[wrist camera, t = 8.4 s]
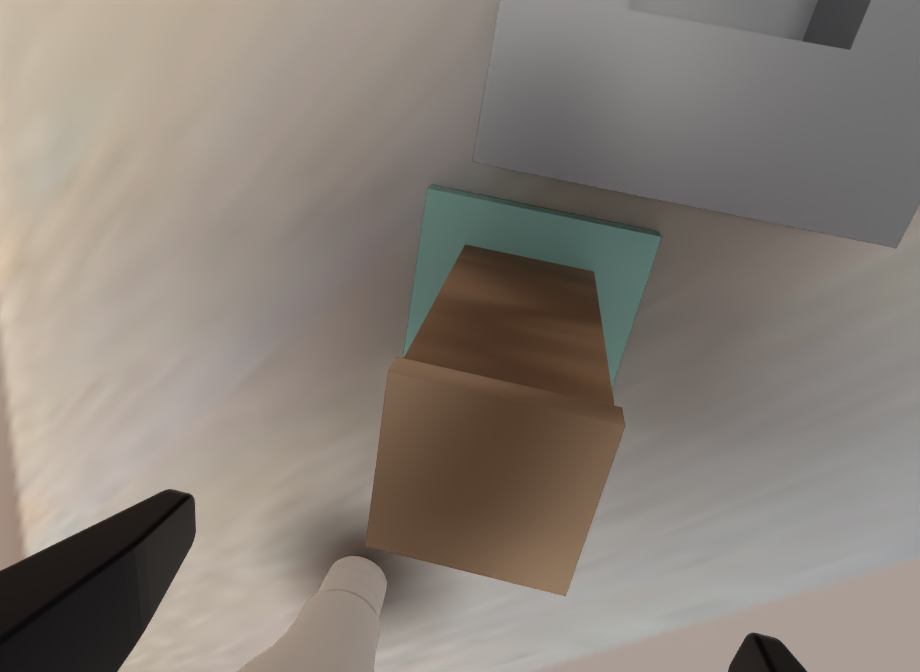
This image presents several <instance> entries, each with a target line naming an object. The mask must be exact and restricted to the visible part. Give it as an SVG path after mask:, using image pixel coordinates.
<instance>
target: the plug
mask: <svg viewBox="0 0 920 672" xmlns="http://www.w3.org/2000/svg"><path fill="white" fill-rule="evenodd" d="M624 428H625V422H624V416H623V410H622V408H621V407H617V406H614V401H613V394H612V387H611V381H610V374H609V367H608V361H607V354H606V347H605V341H604V334H603V327H602V321H601V314H600V307H599V301H598V294H597V287H596V281H595V274H594V271H590V270H585V269H580V268H575V267H571V266H566V265H561V264H556V263H552V262H547V261H542V260H537V259H532V258H528V257H523V256H518V255H513V254H509V253H504V252H499V251H494V250H490V249H485V248H480V247H475V246H471V245H466V244H465V245H464V247H463V249H462V251H461V253H460V255H459V257H458V258H457V260H456V262H455V264H454V266H453V268H452V270H451V271H450V273H449V275H448V277H447V279H446V281H445V282H444V284H443V286H442V288H441V290H440V292H439V294H438V295H437V297H436V299H435V301H434V303H433V305H432V307H431V308H430V310H429V312H428V314H427V316H426V318H425V320H424V321H423V323H422V325H421V327H420V329H419V331H418V332H417V334H416V336H415V338H414V340H413V342H412V344H411V345H410V347H409V349H408V351H407V353H406V355H405V357H404V358H399V357H396V359H395V361H394V362H393V364H392V366H391V368H390V369H389V371H388V376H387V384H386V391H385V399H384V407H383V415H382V422H381V430H380V438H379V445H378V453H377V461H376V469H375V476H374V484H373V492H372V499H371V507H370V515H369V523H368V530H367V538H366V547H370V548H374V549H378V550H382V551H386V552H390V553H394V554H398V555H402V556H406V557H410V558H414V559H418V560H422V561H426V562H430V563H434V564H438V565H442V566H446V567H450V568H454V569H458V570H462V571H466V572H470V573H475V574H479V575H483V576H487V577H491V578H495V579H499V580H503V581H507V582H511V583H515V584H519V585H523V586H527V587H531V588H535V589H539V590H543V591H547V592H551V593H555V594H559V595H563V596H566V594H567V591H568V588H569V585H570V583H571V580H572V577H573V574H574V571H575V568H576V565H577V563H578V560H579V557H580V554H581V551H582V548H583V545H584V543H585V540H586V537H587V534H588V531H589V528H590V525H591V523H592V520H593V517H594V514H595V511H596V508H597V505H598V503H599V500H600V497H601V494H602V491H603V488H604V485H605V483H606V480H607V477H608V474H609V471H610V468H611V465H612V463H613V460H614V457H615V454H616V451H617V448H618V445H619V442H620V440H621V437H622V434H623V431H624Z"/></svg>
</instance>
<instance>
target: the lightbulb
mask: <svg viewBox="0 0 920 672" xmlns="http://www.w3.org/2000/svg"><path fill="white" fill-rule="evenodd" d="M386 589H387V580H386V577H385V575H384V573H383V571H382V570H381V568H380V567H379V566H378V565H377V564H375V563H374V562H372V561H371V560H369V559H366V558H364V557H359V556H348V557H344V558H341V559H339V560H337V561H336V562H335V563H333V565H332V566H331V568H330V570H329V572H328V573H327V575H326V576H325V578H324V581H323V582H322V584H321V585H320V588H319V590H318V592H317V594H315V595H314V596H312V597H311V598H310V599H309V600H308V601H307V602H306V604H305V605H304V607H303V608H302V610H301V612H300V614H299V615H298V617H297V619H296V621H295V622H294V623H293V625H292V626H291V627H290V628H289V630H288V631H287V632H286V634H285V635H284V636H282V637H281V638H280V639H279V640H278V641H277V642H276V643H275V644H274V645H273V646H272V647H270V648H269V649H267V650H266V651H264V652H263V653H261V654H260V655H258V656H257V657H255V658H254V659H252V660H251V661H250V662H249V663H247V664H246V665H245V666H243V667H242V668H241V669H240V670H238V671H237V672H374V662H375V653H376V648H377V644H378V640H379V636H380V621H379V616H380V613H381V608H382V605H383V600H384V597H385V594H386Z"/></svg>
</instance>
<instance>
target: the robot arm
mask: <svg viewBox="0 0 920 672" xmlns="http://www.w3.org/2000/svg"><path fill="white" fill-rule="evenodd" d="M195 533H196V523H195V501H194V497H193V496H192V495H191V494H189V493H185V492H181V491H177V490H173V489H168V490H164V491H162V492H160V493H158V494H156V495H154V496H152V497H150V498H148V499H146V500H144V501H142V502H140V503H138V504H136V505H134V506H132V507H129V508H127V509H125V510H123V511H121V512H119V513H117V514H115V515H113V516H111V517H109V518H107V519H105V520H103V521H101V522H99V523H97V524H95V525H93V526H91V527H89V528H87V529H85V530H83V531H81V532H79V533H77V534H74V535H72V536H70V537H68V538H66V539H64V540H62V541H60V542H58V543H56V544H54V545H52V546H50V547H48V548H46V549H44V550H42V551H40V552H38V553H36V554H34V555H32V556H30V557H28V558H26V559H24V560H22V561H19V562H17V563H16V564H13V565H11V566H9V567H7V568H5V569H3V570H1V571H0V672H117V671H118V670H119V668H120V667H121V666H122V664H123V663H124V661H125V660H126V658H127V657H128V655H129V654H130V652H131V651H132V650H133V648H134V647H135V645H136V643H137V642H138V640H139V639H140V637H141V636H142V634H143V633H144V631H145V629H146V628H147V626H148V624H149V622H150V621H151V619H152V617H153V615H154V613H155V612H156V610H157V608H158V606H159V604H160V603H161V601H162V599H163V597H164V595H165V593H166V592H167V590H168V588H169V586H170V584H171V582H172V581H173V579H174V577H175V575H176V573H177V572H178V570H179V568H180V566H181V564H182V562H183V561H184V559H185V557H186V555H187V553H188V552H189V550H190V548H191V546H192V544H193V541H194V538H195ZM728 672H807V671H806V670H805V668H804V667H803V666H802V665H801V664H800V663H799V661H798V660H797V659H796V658H795V657H794V656H793V654H791V652H790V651H789V650H788V649H787V647H786V646H785V645H784V644H783V643H782V642H781V641H780V640H778V639H776V638H774V637H770V636H766V635H761V634H758V633H750V634H748V635H747V636H746V637H745V639H744V641H743V643H742V644H741V646H740V648H739V650H738V651H737V653H736V655H735V657H734V659H733V660H732V662H731V664H730V666H729V670H728Z"/></svg>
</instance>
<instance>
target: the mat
mask: <svg viewBox="0 0 920 672" xmlns="http://www.w3.org/2000/svg"><path fill="white" fill-rule="evenodd" d="M660 240H661V235H660V233H659V232H657V231H653V230H648V229H643V228H638V227H633V226H628V225H624V224H619V223H614V222H609V221H604V220H599V219H595V218H590V217H585V216H580V215H575V214H570V213H566V212H561V211H556V210H551V209H546V208H541V207H537V206H532V205H527V204H522V203H517V202H512V201H508V200H503V199H498V198H493V197H488V196H483V195H479V194H474V193H469V192H464V191H459V190H454V189H450V188H445V187H440V186H435V185H431V186H429V187H428V188H427V194H426V201H425V208H424V215H423V222H422V229H421V236H420V243H419V250H418V257H417V264H416V270H415V277H414V284H413V291H412V298H411V305H410V312H409V319H408V326H407V333H406V340H405V347H404V354H403V358H404V357H405V355H406V353H407V351H408V349H409V347H410V345H411V344H412V342H413V340H414V338H415V336H416V334H417V332H418V331H419V329H420V327H421V325H422V323H423V321H424V320H425V318H426V316H427V314H428V312H429V310H430V308H431V307H432V305H433V303H434V301H435V299H436V297H437V295H438V294H439V292H440V290H441V288H442V286H443V284H444V282H445V281H446V279H447V277H448V275H449V273H450V271H451V270H452V268H453V266H454V264H455V262H456V260H457V258H458V257H459V255H460V253H461V251H462V249H463V247H464V245H465V244H466V245H471V246H475V247H480V248H485V249H490V250H494V251H499V252H504V253H509V254H513V255H518V256H523V257H528V258H532V259H537V260H542V261H547V262H552V263H556V264H561V265H566V266H571V267H575V268H580V269H585V270H590V271H594V274H595V281H596V287H597V294H598V301H599V307H600V314H601V321H602V327H603V334H604V341H605V347H606V354H607V361H608V367H609V374H610V381H611V387H612V386H613V383H614V380H615V377H616V374H617V371H618V368H619V365H620V362H621V359H622V355H623V352H624V349H625V346H626V343H627V340H628V337H629V334H630V331H631V328H632V325H633V322H634V319H635V316H636V313H637V310H638V307H639V304H640V301H641V298H642V295H643V292H644V289H645V286H646V283H647V280H648V277H649V274H650V271H651V268H652V265H653V262H654V259H655V256H656V253H657V250H658V247H659V244H660Z"/></svg>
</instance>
